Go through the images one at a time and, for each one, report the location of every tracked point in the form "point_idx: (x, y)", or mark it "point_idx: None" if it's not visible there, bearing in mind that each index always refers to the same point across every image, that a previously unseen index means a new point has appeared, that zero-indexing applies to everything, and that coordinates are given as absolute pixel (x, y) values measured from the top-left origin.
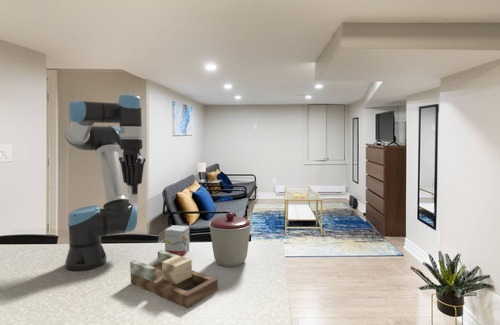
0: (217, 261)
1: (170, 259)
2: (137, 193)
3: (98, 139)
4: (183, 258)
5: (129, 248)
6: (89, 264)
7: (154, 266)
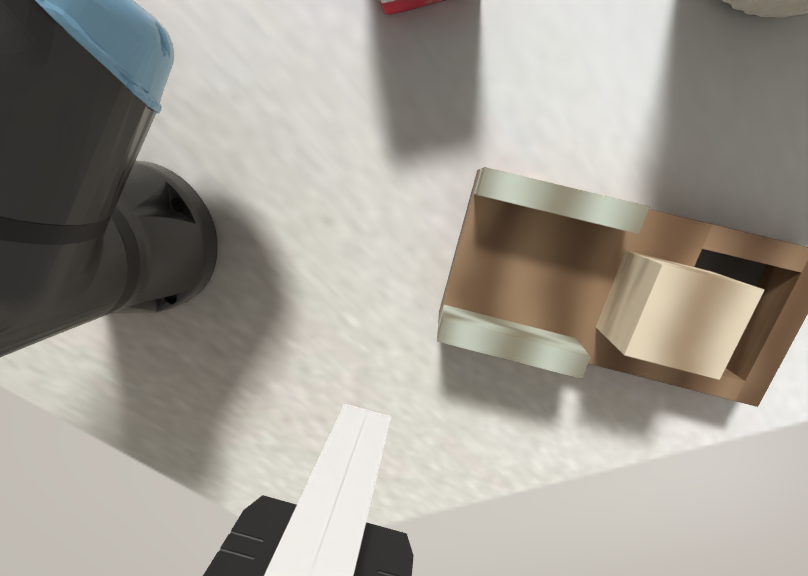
0: (733, 6)
1: (651, 321)
2: (408, 540)
3: None
4: (713, 290)
5: (149, 8)
6: (199, 280)
7: (492, 243)
